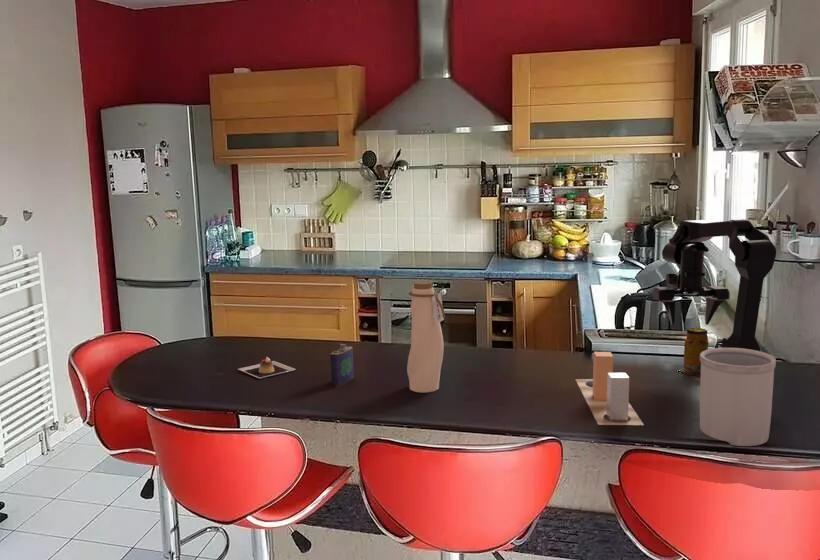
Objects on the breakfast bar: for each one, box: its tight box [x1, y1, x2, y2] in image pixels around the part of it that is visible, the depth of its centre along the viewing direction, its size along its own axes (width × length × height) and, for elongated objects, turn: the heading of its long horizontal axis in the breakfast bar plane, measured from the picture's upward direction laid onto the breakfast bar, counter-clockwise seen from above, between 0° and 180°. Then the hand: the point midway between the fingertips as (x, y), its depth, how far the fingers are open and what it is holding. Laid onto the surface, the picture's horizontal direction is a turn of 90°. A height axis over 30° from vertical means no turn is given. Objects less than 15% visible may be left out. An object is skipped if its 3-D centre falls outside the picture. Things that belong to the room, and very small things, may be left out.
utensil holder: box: [699, 347, 777, 447], centre depth 159 cm, size 15×15×18 cm
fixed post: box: [606, 372, 630, 421], centre depth 168 cm, size 4×4×10 cm
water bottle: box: [406, 280, 446, 394], centre depth 192 cm, size 10×9×28 cm
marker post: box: [592, 351, 614, 400], centre depth 182 cm, size 4×4×11 cm
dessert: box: [237, 356, 296, 380], centre depth 211 cm, size 12×12×5 cm
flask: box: [329, 343, 355, 388], centre depth 199 cm, size 9×3×11 cm, turn 152°
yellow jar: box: [678, 327, 709, 378], centre depth 204 cm, size 7×8×12 cm
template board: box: [575, 378, 644, 426], centre depth 181 cm, size 33×10×1 cm, turn 176°
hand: (689, 324), depth 200 cm, fingers open, 9 cm apart
